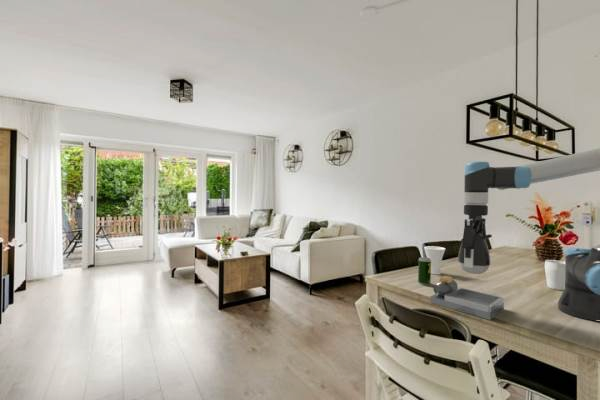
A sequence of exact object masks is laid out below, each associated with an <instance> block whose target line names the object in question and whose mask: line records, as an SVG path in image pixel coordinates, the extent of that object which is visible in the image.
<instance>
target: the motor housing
mask: <svg viewBox="0 0 600 400" xmlns="http://www.w3.org/2000/svg"><path fill="white" fill-rule="evenodd" d="M433 292H434V294H432V295H431V296H429V297H430V300H429V303H430V304H433V305H436V306H437V305H438V306H441V307H444V308H447V309H451V310H453V311H458V312H461V313H464V314H466V315H467V314H468V315H471V316H475V317H478V318H481V319H485V320H488V321H491V320H492V319H494V318H495V317H496V316H497V315H498V314H499V312H500V313H502V311H503V310H504V308H505V302H504V297H502V296H499V295H495V294H490V293H485V292H481V291H476V290H473V289H469V288H464V287H458V283H457V281H455V280H454V279H453V277H452V276H449V275H443V276H440V277H439V282H438V283H436V284H435V285H434V286H433Z"/></svg>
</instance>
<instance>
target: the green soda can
mask: <svg viewBox="0 0 600 400" xmlns="http://www.w3.org/2000/svg"><path fill="white" fill-rule="evenodd" d="M417 272H418V273H417V274H418V275H417V283H418V284H419V285H421V284H422V285H421V286H430V285H431V283H432V279H431V278H432V274H431V259H430V258H427V256H426V257H424V256H421V257H418V271H417Z"/></svg>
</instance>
